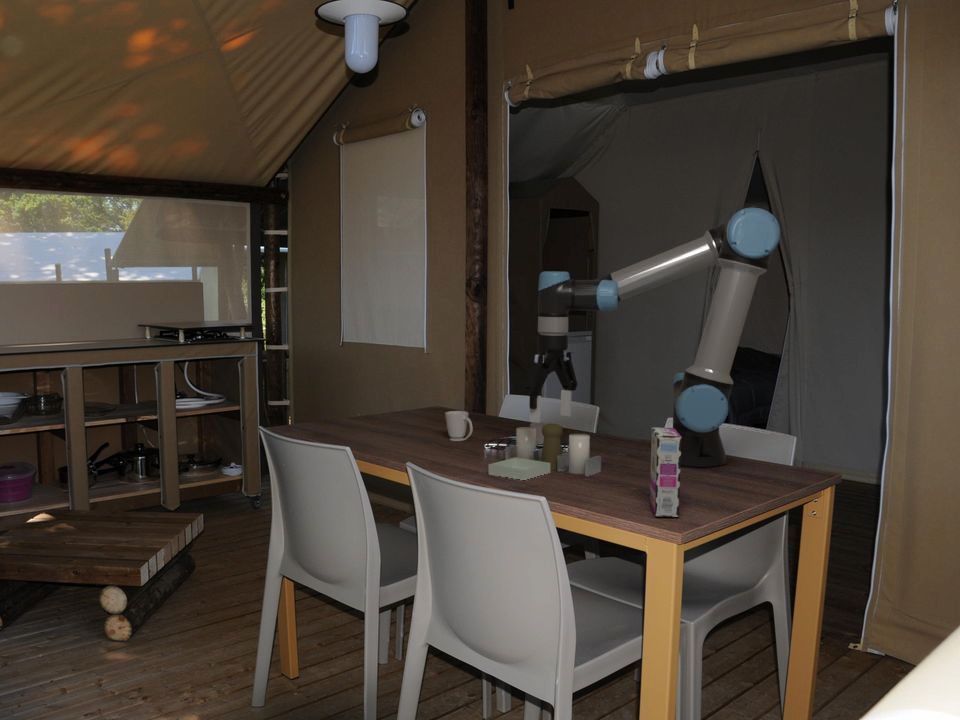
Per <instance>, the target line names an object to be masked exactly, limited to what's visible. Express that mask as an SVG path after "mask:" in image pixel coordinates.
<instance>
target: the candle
mask: <svg viewBox="0 0 960 720" xmlns="http://www.w3.org/2000/svg"><path fill="white" fill-rule="evenodd" d="M545 424H559V425H561V427H562V428H563V424H562V423H560V422H554V421H541V422H540V423H537V422H531V423H529V427H533V428H536V444H543V441H544V436H543V434H542V427H543V426H544V425H545Z"/></svg>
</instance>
